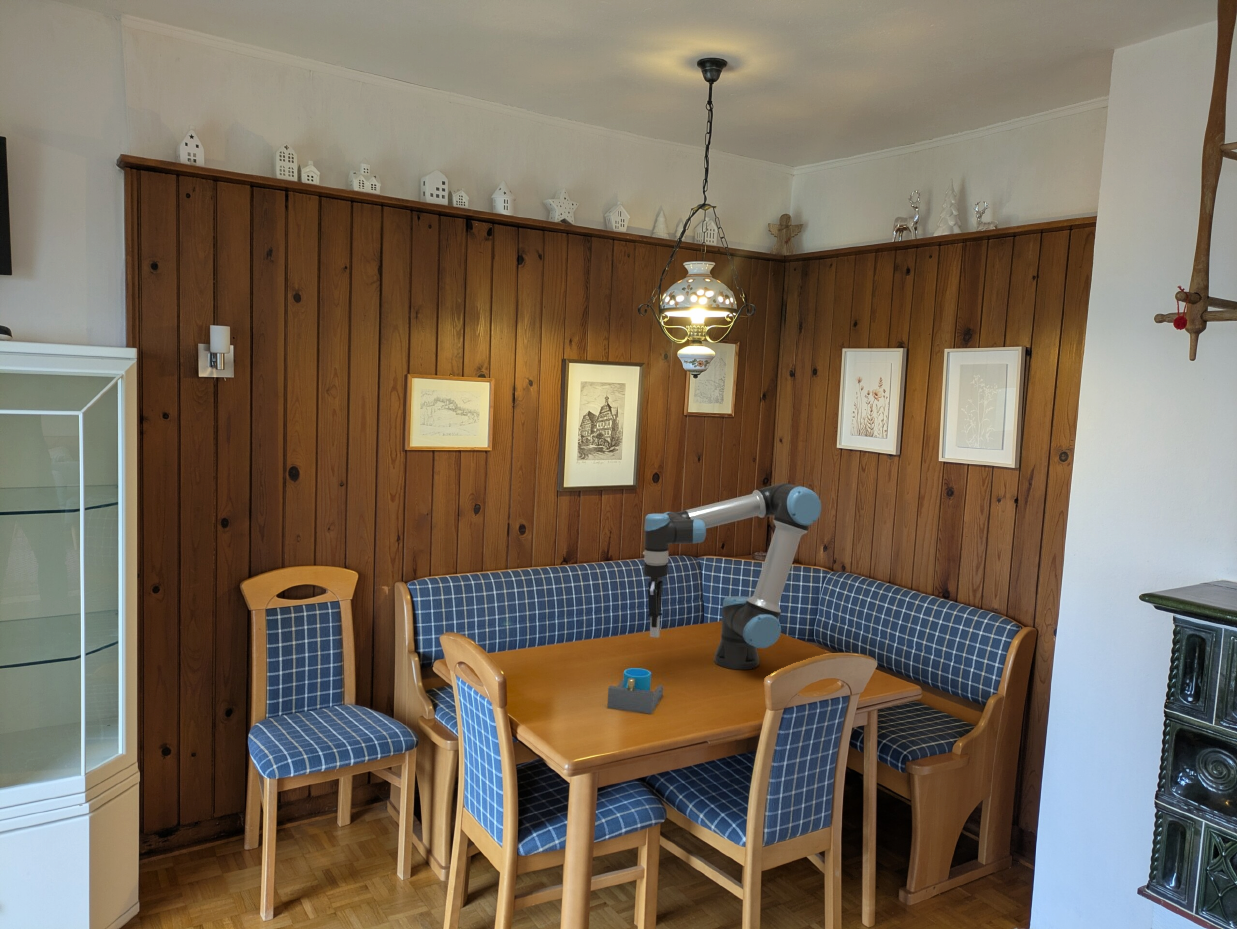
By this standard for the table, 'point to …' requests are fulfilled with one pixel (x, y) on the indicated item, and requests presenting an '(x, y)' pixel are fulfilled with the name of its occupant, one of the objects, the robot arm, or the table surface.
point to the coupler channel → (633, 698)
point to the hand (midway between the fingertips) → (654, 636)
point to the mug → (638, 678)
